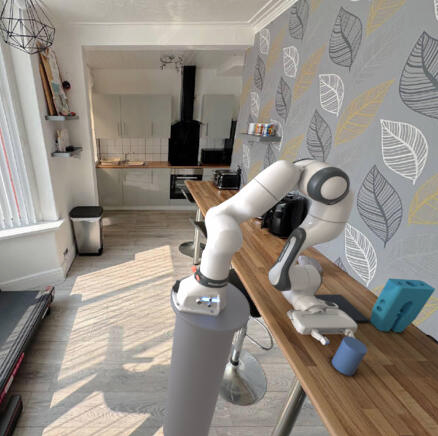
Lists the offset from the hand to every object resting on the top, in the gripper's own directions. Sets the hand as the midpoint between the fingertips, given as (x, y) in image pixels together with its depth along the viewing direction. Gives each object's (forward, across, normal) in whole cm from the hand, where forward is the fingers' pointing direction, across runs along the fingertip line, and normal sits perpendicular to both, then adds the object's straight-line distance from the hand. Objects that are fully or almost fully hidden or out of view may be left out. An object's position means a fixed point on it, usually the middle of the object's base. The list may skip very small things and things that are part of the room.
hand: (341, 343), depth 74 cm
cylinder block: (+4, 0, +6) cm, 7 cm away
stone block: (-48, +26, +6) cm, 55 cm away
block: (-12, +30, +6) cm, 33 cm away
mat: (-20, +16, +6) cm, 27 cm away
